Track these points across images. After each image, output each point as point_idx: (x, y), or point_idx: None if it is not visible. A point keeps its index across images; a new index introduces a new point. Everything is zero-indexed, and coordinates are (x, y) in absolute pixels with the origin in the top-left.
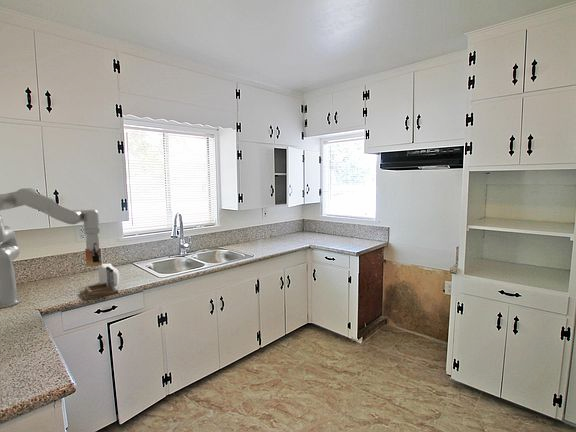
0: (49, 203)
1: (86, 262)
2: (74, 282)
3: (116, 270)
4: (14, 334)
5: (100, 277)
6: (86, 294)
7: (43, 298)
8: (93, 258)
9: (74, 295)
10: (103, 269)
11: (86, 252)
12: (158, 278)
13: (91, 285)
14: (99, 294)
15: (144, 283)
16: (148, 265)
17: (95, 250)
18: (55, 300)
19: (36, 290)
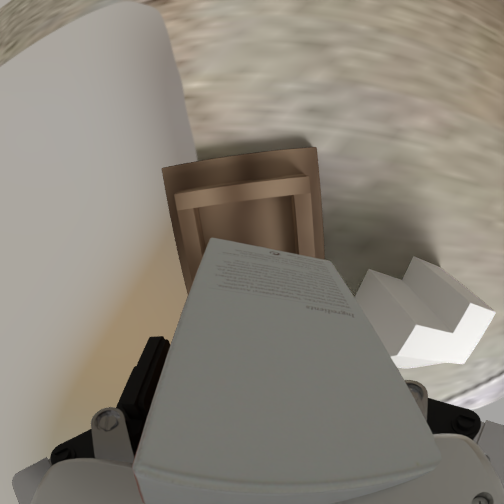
0: None
1: (200, 264)
2: (498, 165)
3: (400, 365)
4: (3, 17)
5: (428, 276)
6: (222, 176)
7: (340, 6)
8: (137, 377)
9: (298, 121)
10: (406, 324)
11: (156, 401)
12: None
13: (312, 216)
14: (178, 238)
15: None
16: (469, 405)
17: (26, 478)
18: (267, 39)
19: (469, 26)
